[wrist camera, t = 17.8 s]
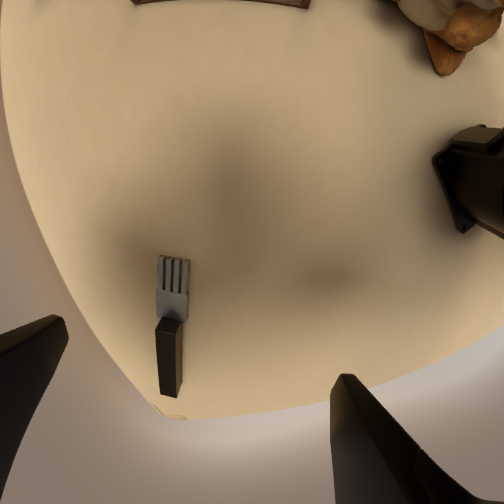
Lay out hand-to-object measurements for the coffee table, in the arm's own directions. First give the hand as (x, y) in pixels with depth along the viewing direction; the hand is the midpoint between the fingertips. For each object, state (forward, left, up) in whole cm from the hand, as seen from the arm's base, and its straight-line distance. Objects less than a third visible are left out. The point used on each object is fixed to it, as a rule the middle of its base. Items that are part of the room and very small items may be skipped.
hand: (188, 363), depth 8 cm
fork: (-4, +9, -11) cm, 15 cm away
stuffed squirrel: (+7, -24, -12) cm, 27 cm away
